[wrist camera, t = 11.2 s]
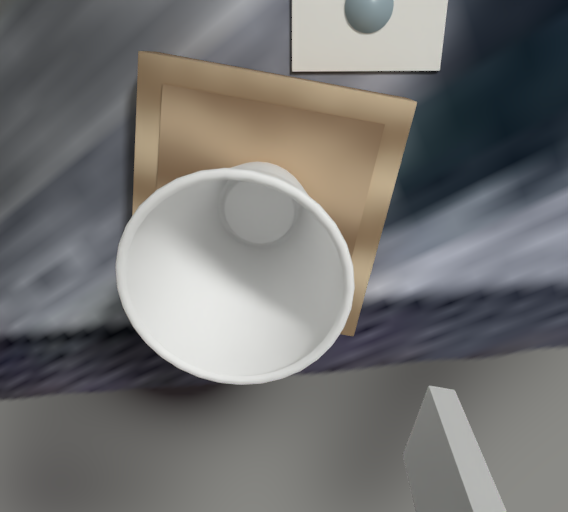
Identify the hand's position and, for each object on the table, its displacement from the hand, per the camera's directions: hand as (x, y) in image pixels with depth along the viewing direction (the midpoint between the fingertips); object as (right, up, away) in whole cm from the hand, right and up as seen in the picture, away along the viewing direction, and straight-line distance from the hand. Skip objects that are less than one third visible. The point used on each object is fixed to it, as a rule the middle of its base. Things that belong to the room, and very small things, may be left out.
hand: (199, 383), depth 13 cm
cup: (+1, +7, +16) cm, 17 cm away
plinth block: (+1, +8, +19) cm, 20 cm away
